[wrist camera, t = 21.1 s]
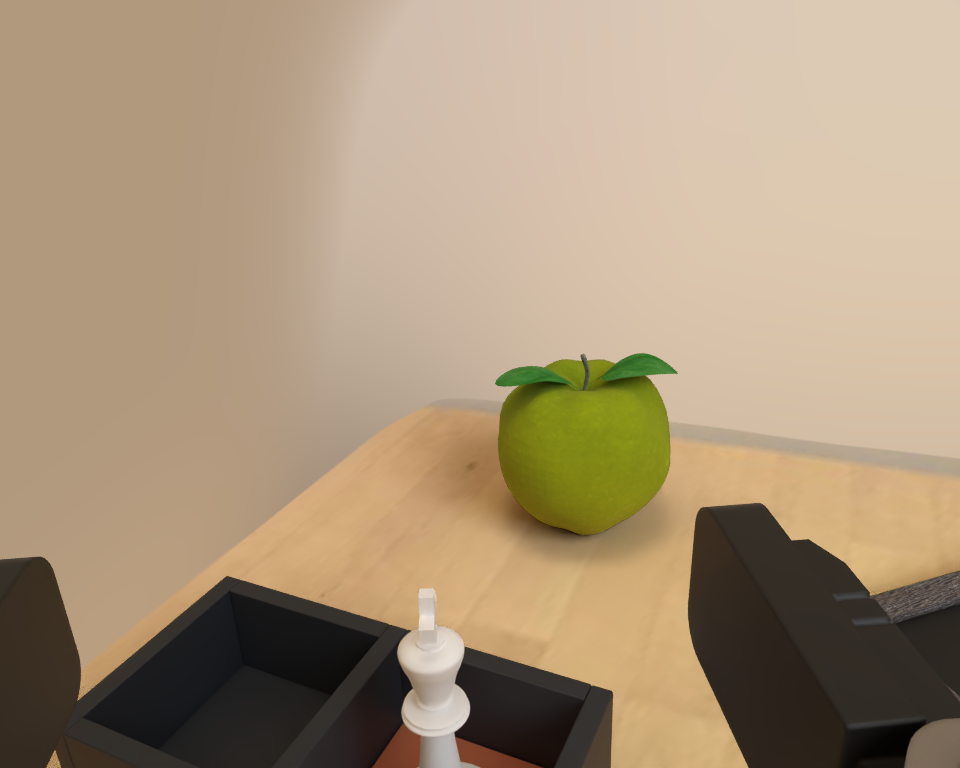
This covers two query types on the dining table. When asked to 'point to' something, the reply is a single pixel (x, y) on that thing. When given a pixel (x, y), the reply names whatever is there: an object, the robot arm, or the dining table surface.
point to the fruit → (584, 440)
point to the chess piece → (434, 687)
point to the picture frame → (930, 622)
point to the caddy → (315, 697)
